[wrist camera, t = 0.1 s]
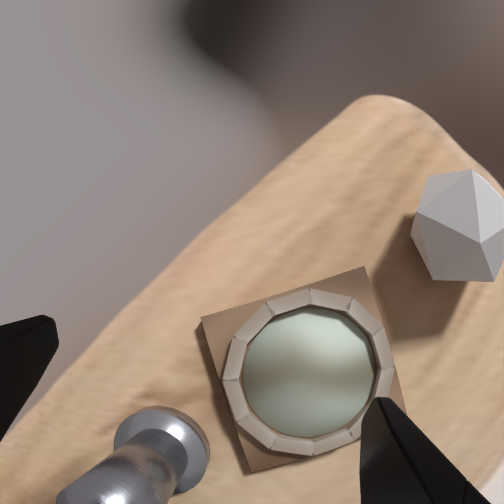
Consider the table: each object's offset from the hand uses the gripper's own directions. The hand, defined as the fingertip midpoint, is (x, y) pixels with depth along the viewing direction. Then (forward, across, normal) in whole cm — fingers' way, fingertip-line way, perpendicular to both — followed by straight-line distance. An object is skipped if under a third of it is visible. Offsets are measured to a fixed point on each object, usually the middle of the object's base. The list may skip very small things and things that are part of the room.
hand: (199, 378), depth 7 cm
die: (+19, -15, -1) cm, 24 cm away
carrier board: (+12, -5, +9) cm, 16 cm away
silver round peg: (+8, +4, +16) cm, 18 cm away
